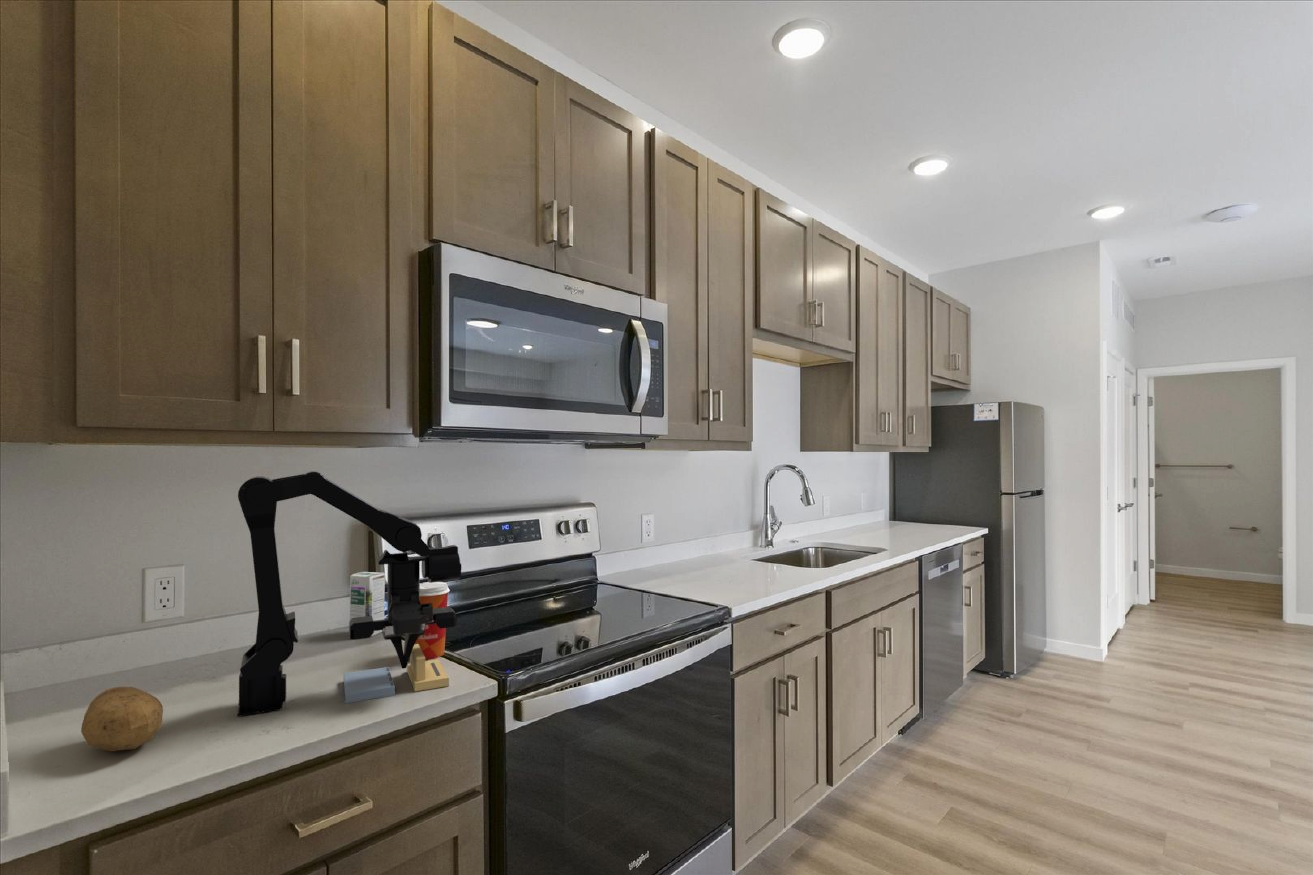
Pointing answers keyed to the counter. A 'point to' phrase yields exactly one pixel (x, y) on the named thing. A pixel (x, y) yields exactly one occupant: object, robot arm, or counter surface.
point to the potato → (122, 719)
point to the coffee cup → (434, 636)
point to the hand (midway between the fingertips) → (403, 667)
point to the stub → (425, 671)
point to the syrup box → (367, 596)
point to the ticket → (368, 684)
